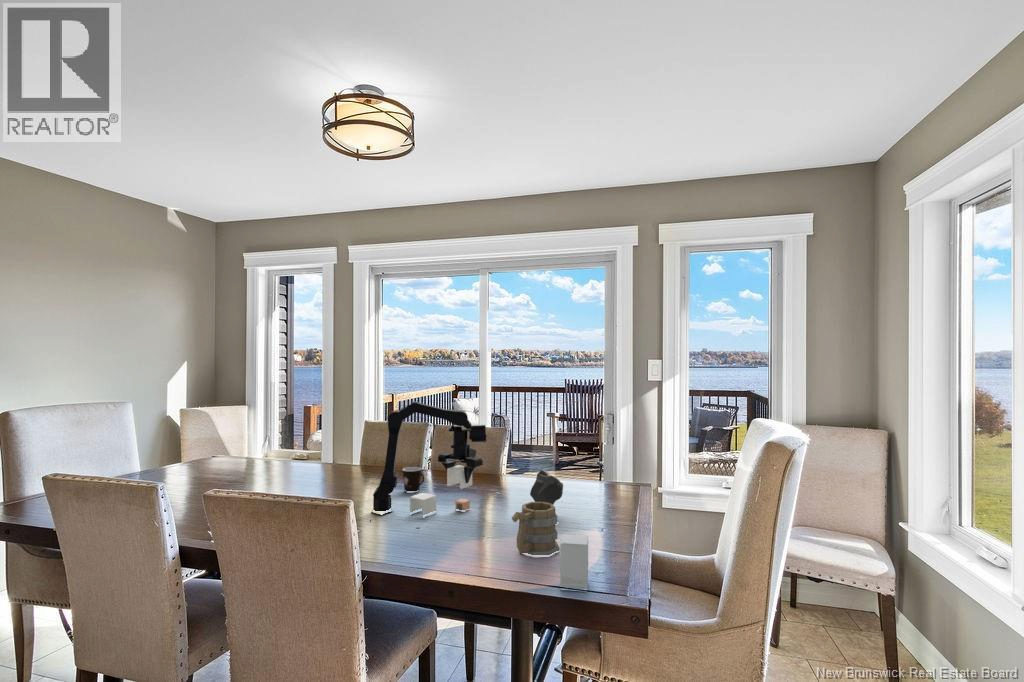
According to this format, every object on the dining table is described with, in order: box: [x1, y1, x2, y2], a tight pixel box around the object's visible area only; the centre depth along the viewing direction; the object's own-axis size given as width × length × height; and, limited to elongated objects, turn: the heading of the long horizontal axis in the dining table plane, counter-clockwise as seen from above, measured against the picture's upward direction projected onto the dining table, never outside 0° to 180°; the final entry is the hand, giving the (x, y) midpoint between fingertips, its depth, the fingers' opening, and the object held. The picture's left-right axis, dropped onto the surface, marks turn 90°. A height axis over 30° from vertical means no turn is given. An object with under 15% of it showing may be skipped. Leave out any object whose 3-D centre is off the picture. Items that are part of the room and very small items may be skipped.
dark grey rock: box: [529, 469, 564, 522], centre depth 199 cm, size 14×15×18 cm
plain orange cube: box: [455, 498, 471, 510], centre depth 207 cm, size 4×4×4 cm
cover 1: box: [409, 492, 437, 516], centre depth 202 cm, size 7×7×7 cm
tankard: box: [511, 501, 560, 555], centre depth 164 cm, size 20×13×15 cm, turn 141°
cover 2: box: [446, 464, 473, 490], centre depth 208 cm, size 7×7×7 cm
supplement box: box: [559, 533, 589, 590], centre depth 141 cm, size 7×7×13 cm
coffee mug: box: [402, 466, 425, 491], centre depth 233 cm, size 12×9×10 cm
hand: (459, 481), depth 208 cm, fingers closed on cover 2, 7 cm apart
